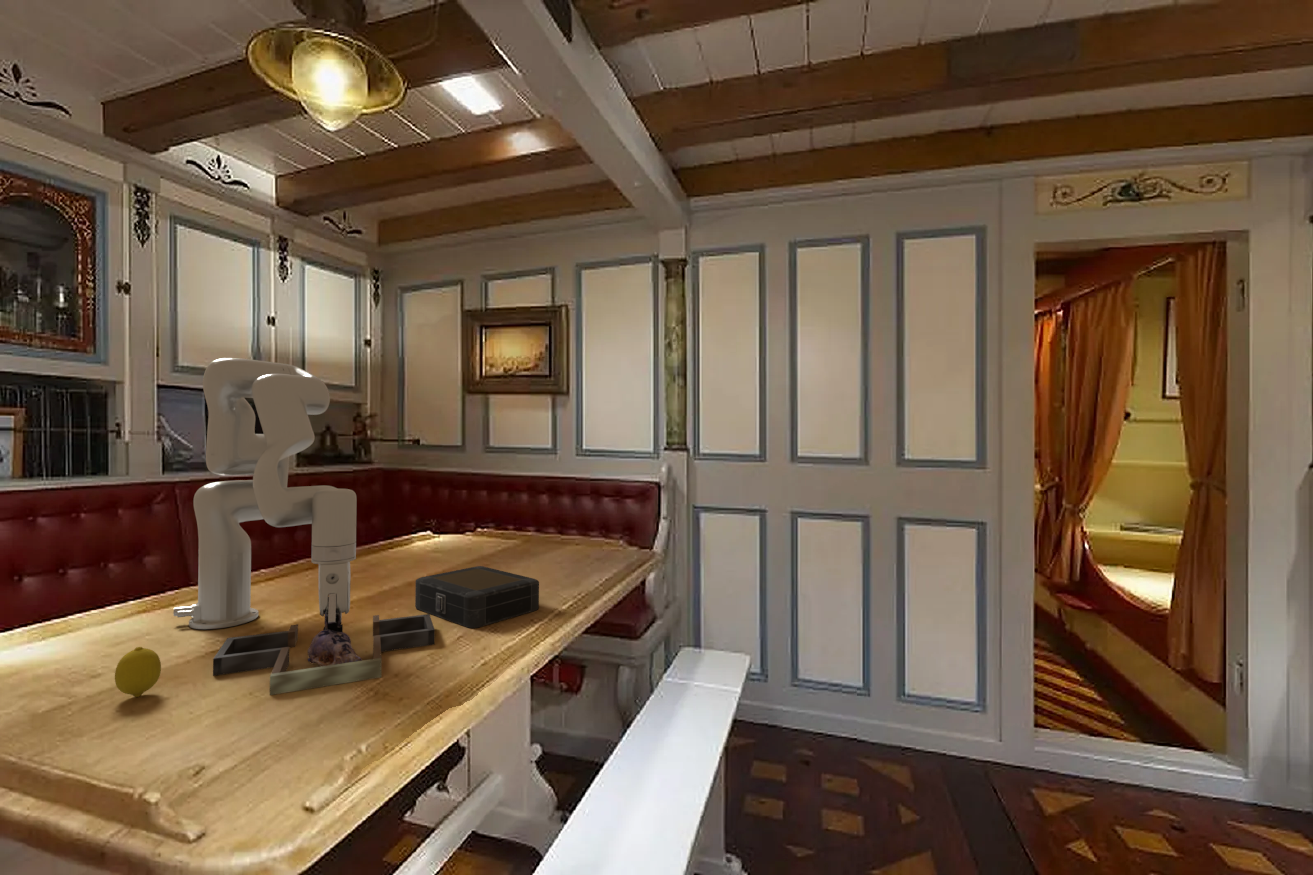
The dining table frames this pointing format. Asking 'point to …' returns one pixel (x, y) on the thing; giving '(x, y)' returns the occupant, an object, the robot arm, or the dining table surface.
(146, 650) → the lemon
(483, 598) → the cash box
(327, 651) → the skull
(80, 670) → the dining table surface
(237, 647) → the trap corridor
